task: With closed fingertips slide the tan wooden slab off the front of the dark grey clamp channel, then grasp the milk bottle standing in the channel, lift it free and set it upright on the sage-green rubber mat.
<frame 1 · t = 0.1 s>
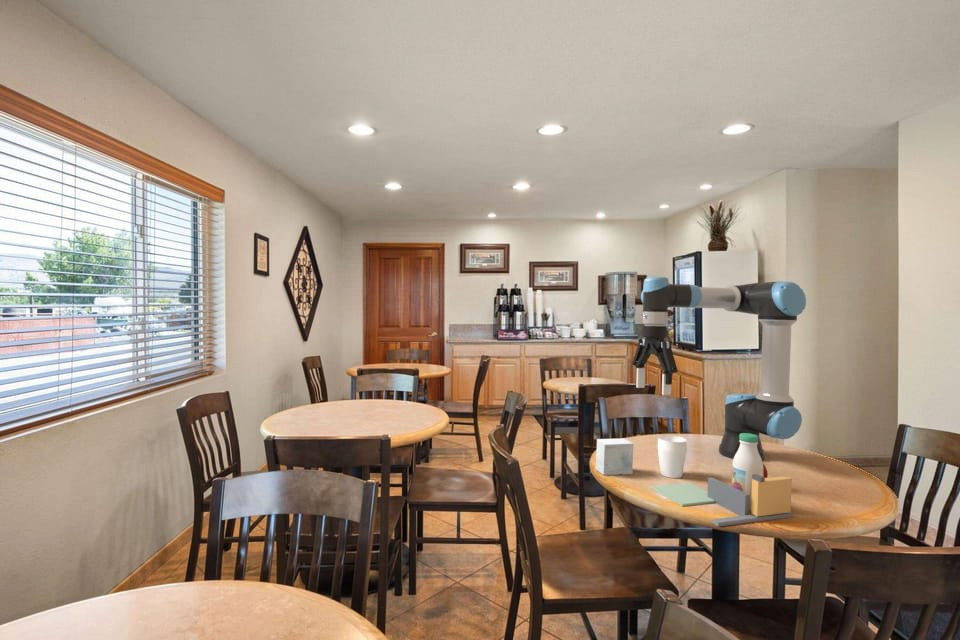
hand: (652, 391, 159), 28 cm above the table, fingers open, 13 cm apart
skincare box: (614, 472, 164), on the table
tan wooden slab: (771, 493, 130), point 6 cm above the table, slide at 0.0 cm
milk bottle: (746, 506, 138), resting in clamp
fruit: (749, 485, 154), on the table
mat: (686, 494, 145), on the table
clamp: (746, 505, 138), on the table
cup: (671, 475, 162), on the table
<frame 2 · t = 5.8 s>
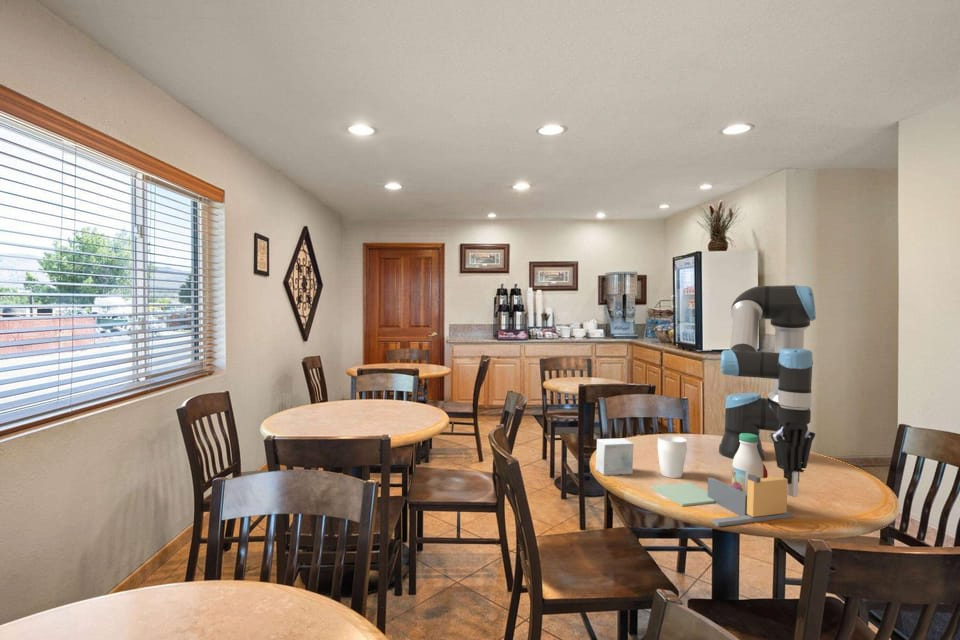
hand: (790, 494, 132), 6 cm above the table, fingers closed
tan wooden slab: (767, 494, 129), point 6 cm above the table, slide at 1.4 cm, touching gripper
everything else where it was.
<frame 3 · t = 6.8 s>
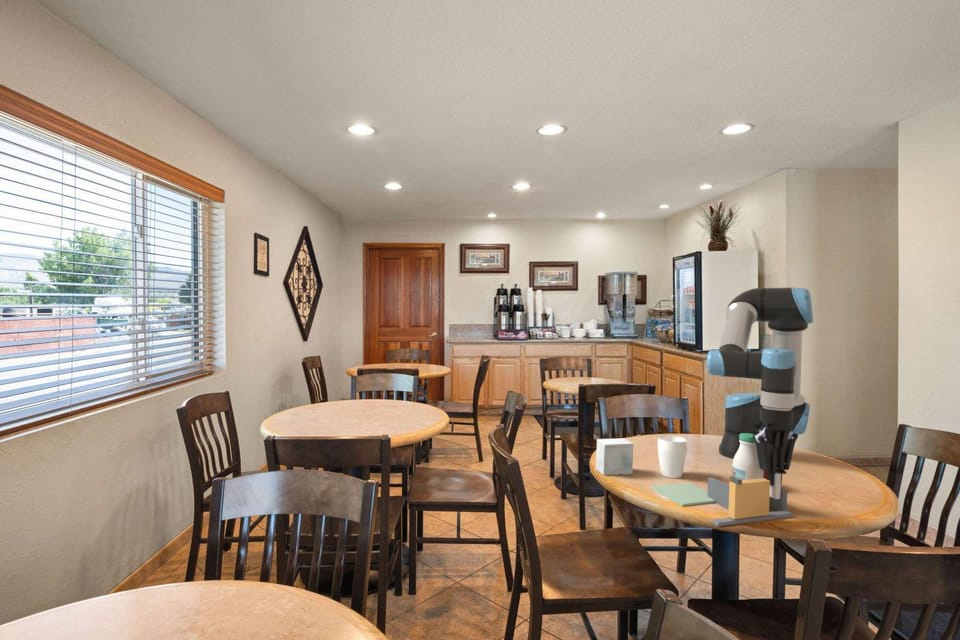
hand: (773, 496, 130), 6 cm above the table, fingers closed
tan wooden slab: (749, 496, 128), point 6 cm above the table, slide at 7.2 cm, touching gripper
everything else where it was.
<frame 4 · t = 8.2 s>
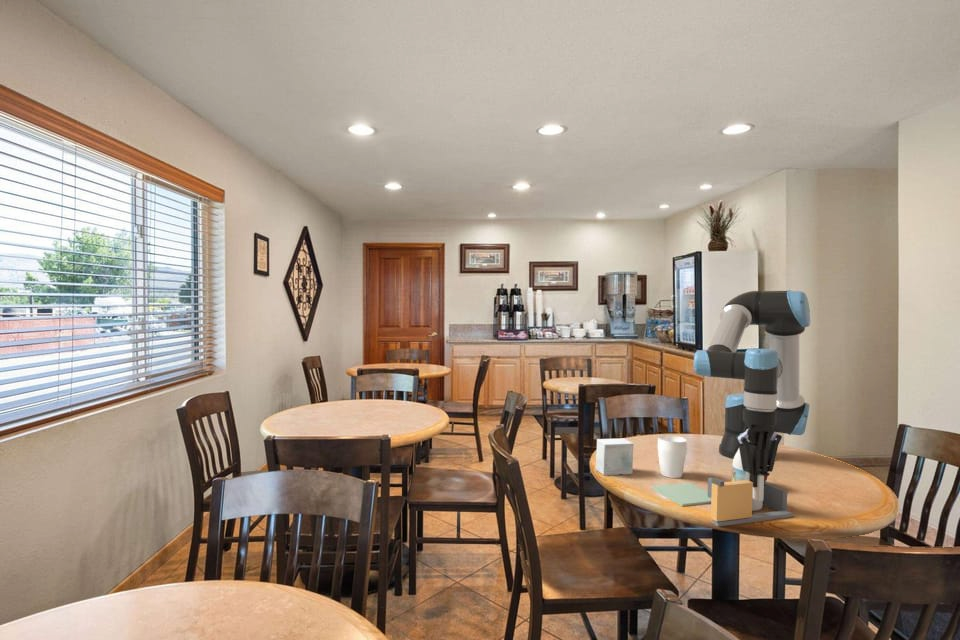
hand: (756, 498, 128), 6 cm above the table, fingers closed
tan wooden slab: (732, 498, 126), point 6 cm above the table, slide at 12.7 cm, touching gripper
everything else where it was.
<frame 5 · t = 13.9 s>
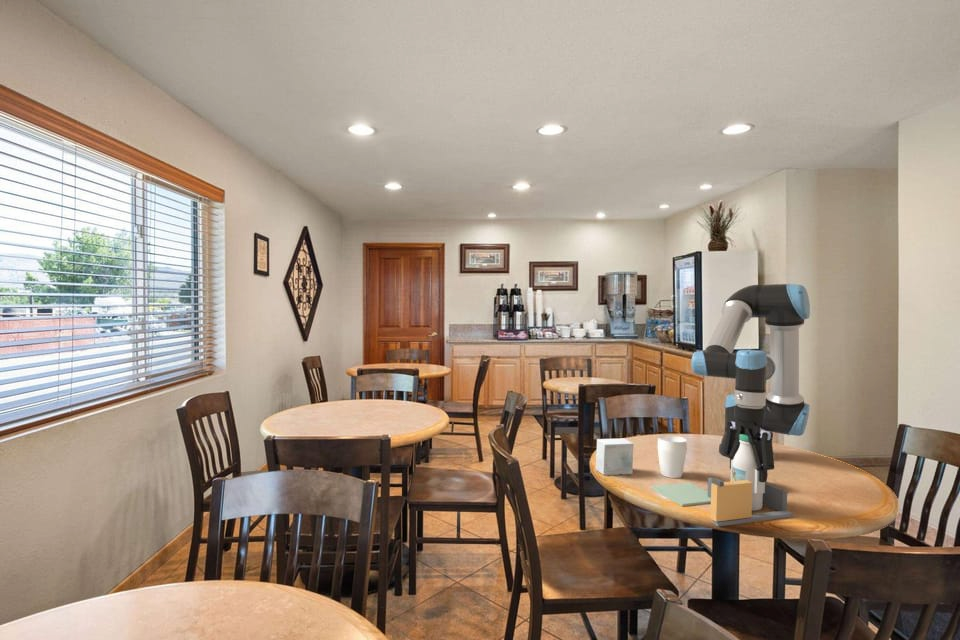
hand: (747, 487, 137), 5 cm above the table, fingers closed on milk bottle, 8 cm apart
tan wooden slab: (731, 498, 126), point 6 cm above the table, slide at 12.9 cm
milk bottle: (746, 506, 138), resting in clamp, touching gripper
everything else where it was.
when the fingers open (7 cm above the table, at t = 19.6 s): milk bottle drops 1 cm, resting on mat.
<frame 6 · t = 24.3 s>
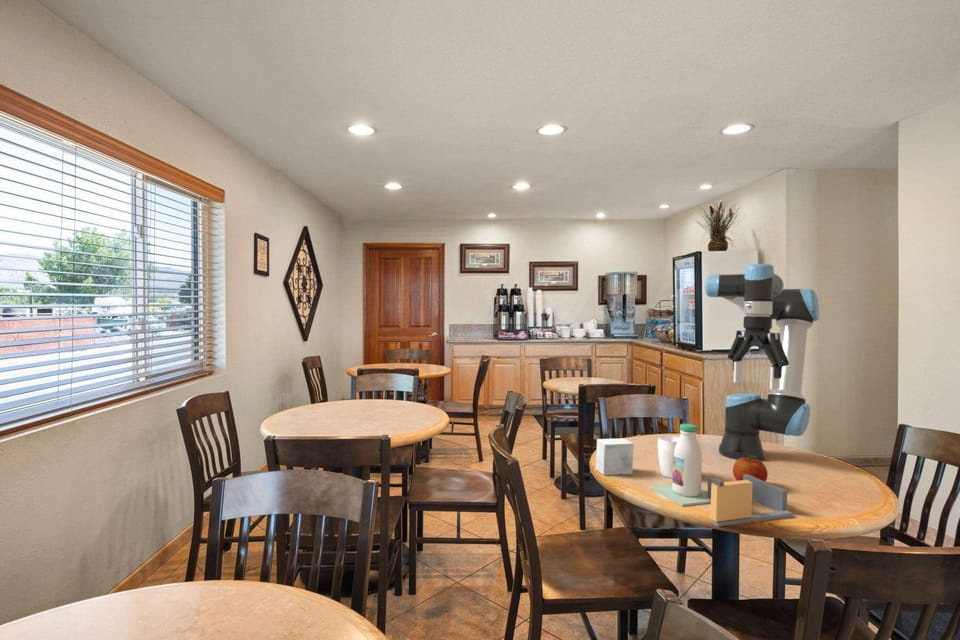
hand: (755, 385, 150), 32 cm above the table, fingers open, 13 cm apart
milk bottle: (686, 493, 145), resting on mat
everything else where it was.
at the end: tan wooden slab slide at 12.9 cm; milk bottle 0.1 cm from the mat (horizontally); milk bottle tilted 0° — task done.
